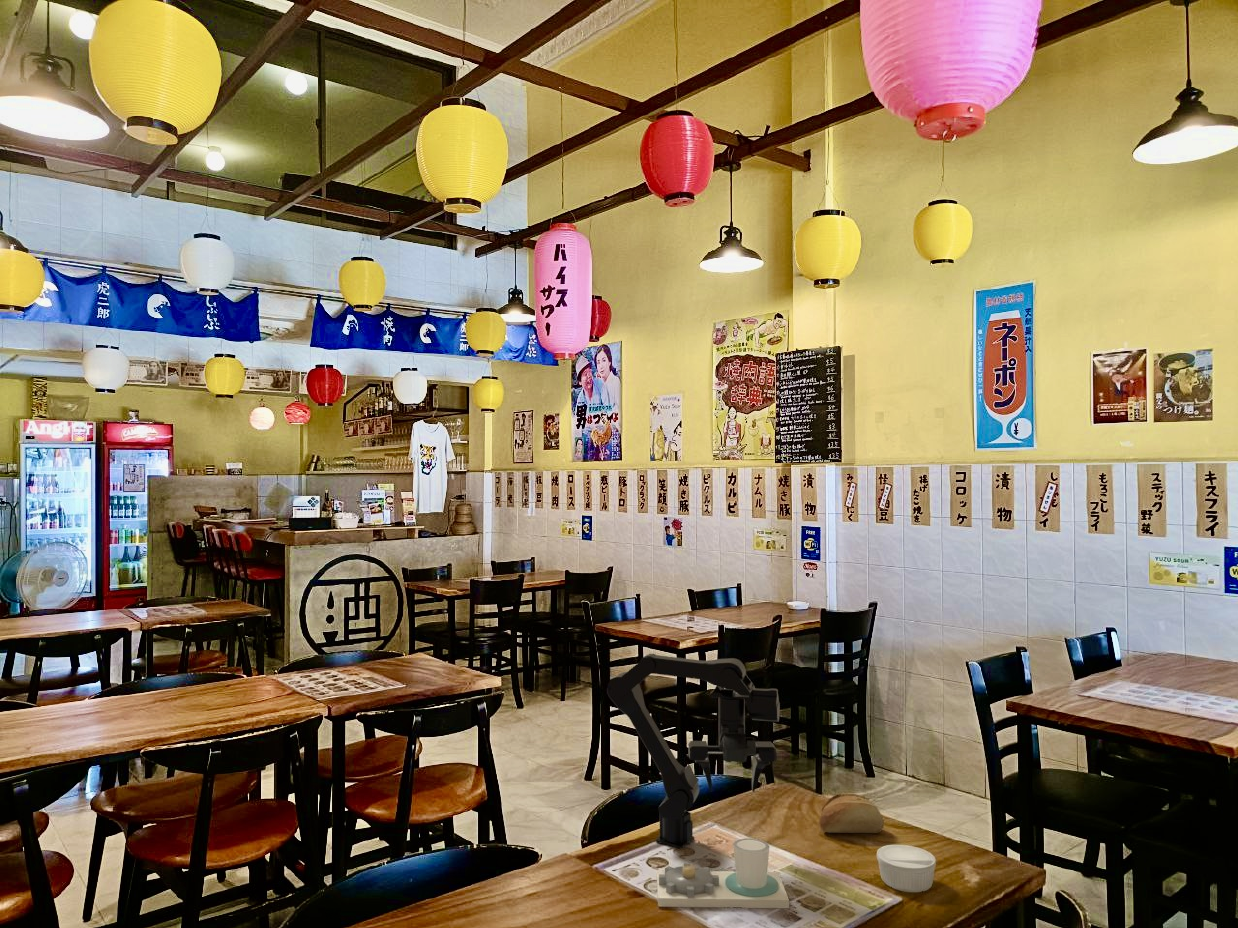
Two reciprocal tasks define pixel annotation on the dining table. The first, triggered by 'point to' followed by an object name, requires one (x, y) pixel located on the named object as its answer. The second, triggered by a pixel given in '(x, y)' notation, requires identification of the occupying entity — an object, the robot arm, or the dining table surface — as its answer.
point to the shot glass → (751, 862)
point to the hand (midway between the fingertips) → (732, 790)
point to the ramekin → (906, 867)
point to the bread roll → (850, 815)
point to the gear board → (716, 889)
